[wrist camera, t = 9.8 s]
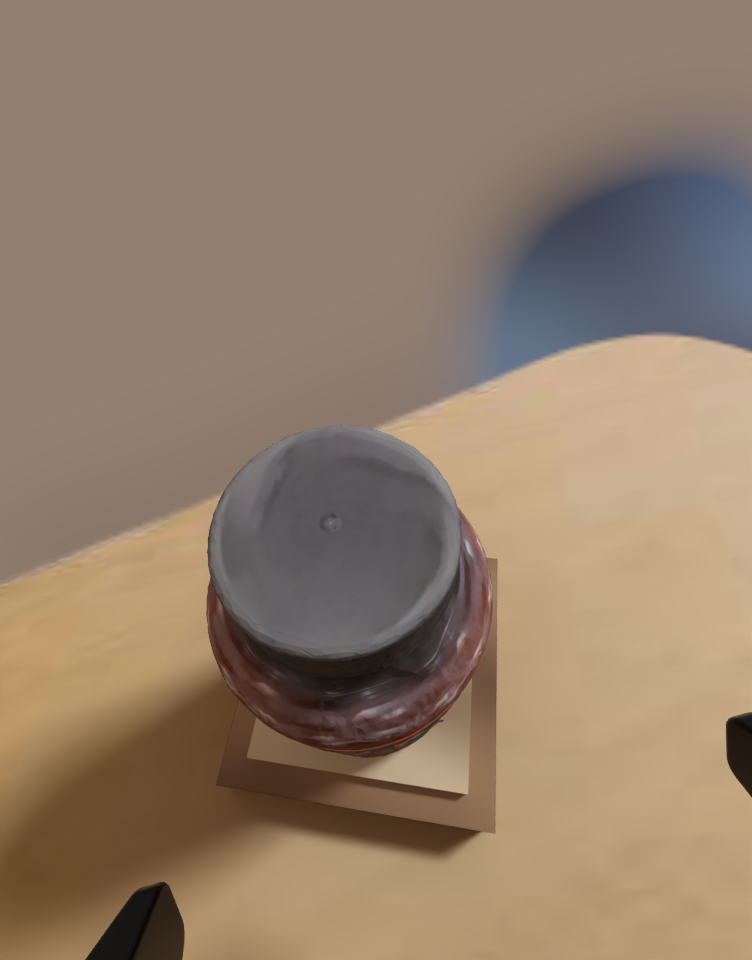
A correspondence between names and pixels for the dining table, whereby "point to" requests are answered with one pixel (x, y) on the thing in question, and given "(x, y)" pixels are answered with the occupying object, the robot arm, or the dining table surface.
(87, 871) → the dining table surface
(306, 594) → the supplement bottle
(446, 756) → the wooden square coaster
